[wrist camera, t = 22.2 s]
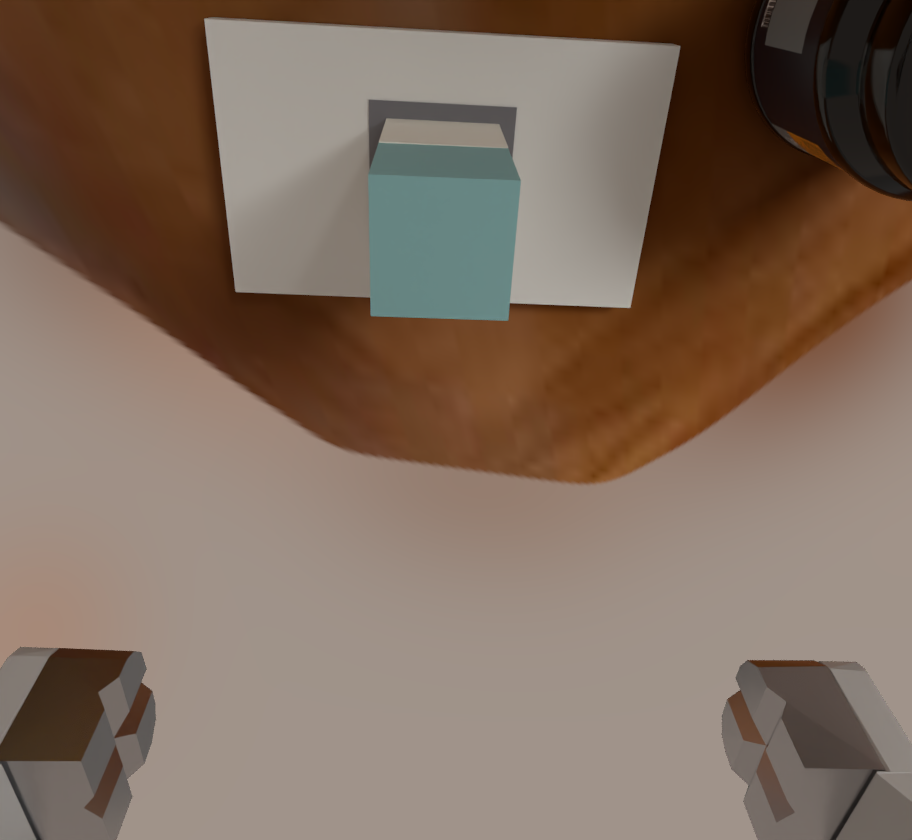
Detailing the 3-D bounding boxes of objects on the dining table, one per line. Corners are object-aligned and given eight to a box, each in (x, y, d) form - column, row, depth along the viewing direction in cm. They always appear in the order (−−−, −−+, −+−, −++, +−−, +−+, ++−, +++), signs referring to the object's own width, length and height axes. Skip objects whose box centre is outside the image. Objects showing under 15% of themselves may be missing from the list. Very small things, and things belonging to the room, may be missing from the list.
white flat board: (672, 43, 32) (681, 46, 31) (625, 298, 38) (630, 308, 37) (211, 16, 31) (203, 18, 30) (240, 283, 37) (235, 292, 36)
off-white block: (499, 124, 32) (508, 147, 28) (490, 234, 35) (497, 271, 31) (386, 118, 32) (378, 141, 28) (386, 229, 35) (379, 266, 31)
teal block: (508, 148, 28) (521, 180, 24) (498, 271, 31) (508, 320, 27) (378, 142, 28) (368, 174, 24) (379, 267, 31) (370, 316, 26)
